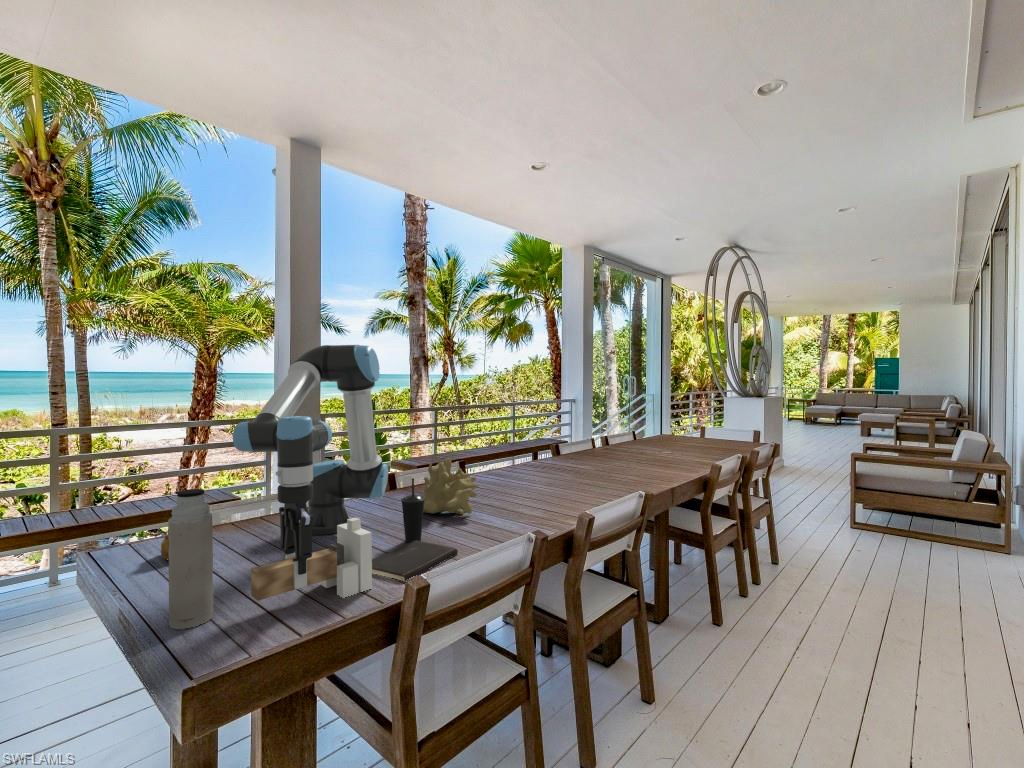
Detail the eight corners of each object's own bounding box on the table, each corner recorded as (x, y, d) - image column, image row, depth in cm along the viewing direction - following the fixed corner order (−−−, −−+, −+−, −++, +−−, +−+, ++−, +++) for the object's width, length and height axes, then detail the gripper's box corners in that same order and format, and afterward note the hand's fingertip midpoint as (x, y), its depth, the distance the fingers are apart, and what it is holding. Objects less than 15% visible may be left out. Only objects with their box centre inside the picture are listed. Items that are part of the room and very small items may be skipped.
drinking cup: (420, 545, 153) (419, 481, 153) (397, 544, 155) (396, 480, 155) (429, 538, 161) (428, 476, 161) (407, 536, 162) (406, 475, 162)
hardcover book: (359, 573, 133) (359, 564, 133) (415, 547, 154) (415, 540, 154) (405, 584, 126) (405, 575, 126) (457, 556, 146) (457, 548, 146)
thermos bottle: (160, 630, 102) (159, 495, 102) (183, 612, 110) (181, 486, 110) (201, 628, 103) (199, 494, 102) (220, 610, 111) (219, 486, 110)
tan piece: (257, 600, 106) (257, 568, 106) (251, 595, 109) (250, 563, 109) (344, 574, 121) (344, 546, 121) (337, 570, 124) (336, 542, 124)
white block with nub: (320, 584, 125) (320, 519, 125) (348, 575, 130) (347, 513, 130) (343, 599, 116) (342, 529, 116) (372, 589, 122) (371, 522, 122)
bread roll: (158, 554, 147) (158, 527, 147) (196, 547, 153) (196, 521, 153) (162, 567, 137) (162, 538, 137) (203, 558, 143) (203, 531, 143)
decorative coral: (410, 476, 204) (455, 439, 199) (445, 513, 208) (490, 478, 203) (393, 506, 179) (444, 465, 174) (434, 547, 183) (485, 508, 178)
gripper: (264, 480, 117) (265, 578, 118) (294, 491, 105) (295, 601, 106) (296, 476, 123) (297, 570, 123) (328, 486, 111) (328, 590, 111)
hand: (296, 584), depth 114 cm, fingers closed on tan piece, 4 cm apart
